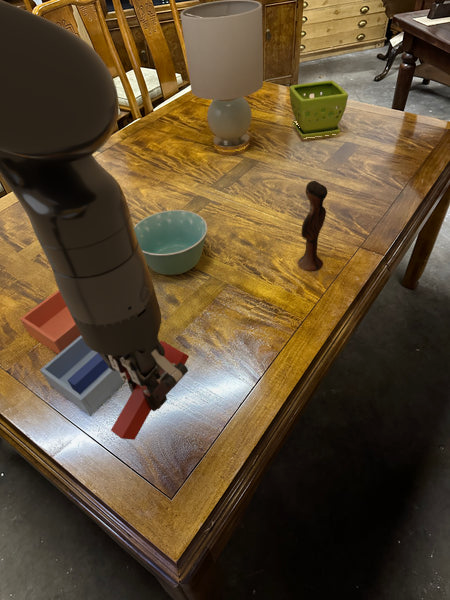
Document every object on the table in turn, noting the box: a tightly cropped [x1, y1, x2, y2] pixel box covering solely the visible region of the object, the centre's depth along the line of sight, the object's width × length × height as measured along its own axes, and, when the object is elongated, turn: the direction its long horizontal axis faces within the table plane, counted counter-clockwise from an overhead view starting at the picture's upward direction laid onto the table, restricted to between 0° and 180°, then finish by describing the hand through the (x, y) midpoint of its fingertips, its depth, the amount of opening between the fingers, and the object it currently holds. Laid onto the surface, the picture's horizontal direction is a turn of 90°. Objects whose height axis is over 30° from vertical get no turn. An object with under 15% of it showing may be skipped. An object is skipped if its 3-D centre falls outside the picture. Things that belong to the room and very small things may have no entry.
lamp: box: [180, 0, 264, 156], centre depth 115 cm, size 20×20×35 cm
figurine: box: [297, 180, 329, 272], centre depth 80 cm, size 7×5×18 cm
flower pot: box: [288, 80, 349, 141], centre depth 125 cm, size 14×14×13 cm
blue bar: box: [68, 353, 109, 394], centre depth 70 cm, size 11×4×3 cm, turn 144°
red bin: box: [19, 289, 81, 355], centre depth 78 cm, size 15×10×4 cm
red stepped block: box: [110, 340, 190, 441], centre depth 47 cm, size 11×4×3 cm, turn 144°
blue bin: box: [39, 336, 126, 417], centre depth 70 cm, size 15×10×4 cm
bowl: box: [134, 209, 208, 276], centre depth 87 cm, size 16×16×8 cm
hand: (150, 399), depth 48 cm, fingers closed on red stepped block, 2 cm apart
